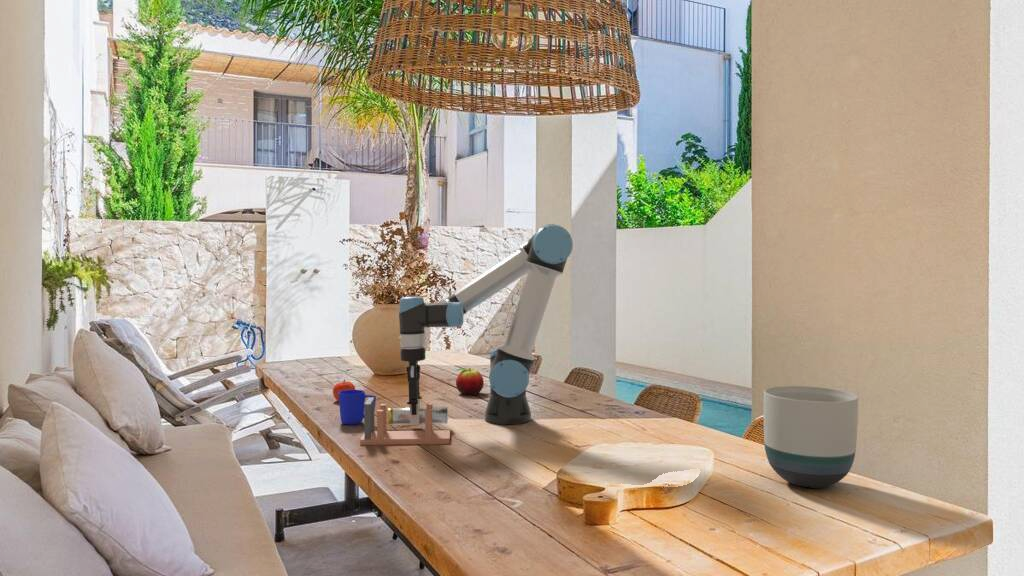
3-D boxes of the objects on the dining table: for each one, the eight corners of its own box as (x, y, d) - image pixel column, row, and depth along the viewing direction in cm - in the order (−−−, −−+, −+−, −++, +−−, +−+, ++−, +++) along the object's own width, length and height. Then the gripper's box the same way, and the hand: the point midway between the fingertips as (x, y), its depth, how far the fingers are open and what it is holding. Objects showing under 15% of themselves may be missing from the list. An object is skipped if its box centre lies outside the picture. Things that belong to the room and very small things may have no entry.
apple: (360, 400, 271) (360, 378, 271) (344, 404, 264) (344, 382, 264) (344, 398, 275) (344, 376, 275) (328, 401, 268) (328, 379, 268)
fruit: (482, 396, 279) (482, 370, 279) (454, 396, 279) (454, 370, 279) (484, 391, 290) (484, 366, 290) (456, 391, 290) (456, 366, 290)
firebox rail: (450, 435, 218) (450, 396, 218) (449, 443, 209) (449, 403, 208) (364, 436, 217) (364, 397, 216) (360, 444, 207) (359, 404, 206)
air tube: (447, 418, 229) (447, 403, 228) (447, 426, 225) (447, 412, 223) (383, 419, 228) (382, 405, 226) (381, 428, 223) (380, 413, 222)
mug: (370, 427, 228) (370, 395, 228) (334, 425, 231) (334, 393, 230) (380, 421, 236) (380, 390, 236) (345, 419, 239) (345, 389, 238)
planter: (849, 504, 158) (851, 405, 157) (752, 488, 169) (754, 395, 168) (861, 480, 176) (863, 391, 175) (773, 467, 186) (774, 383, 185)
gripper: (402, 344, 233) (405, 417, 234) (397, 351, 215) (400, 430, 216) (426, 343, 234) (428, 416, 235) (423, 350, 216) (426, 429, 217)
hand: (415, 422), depth 226 cm, fingers closed on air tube, 5 cm apart
